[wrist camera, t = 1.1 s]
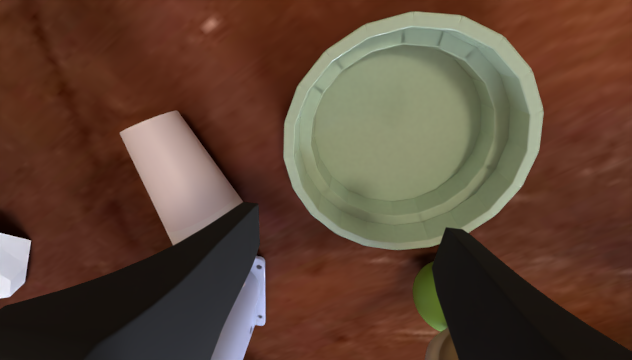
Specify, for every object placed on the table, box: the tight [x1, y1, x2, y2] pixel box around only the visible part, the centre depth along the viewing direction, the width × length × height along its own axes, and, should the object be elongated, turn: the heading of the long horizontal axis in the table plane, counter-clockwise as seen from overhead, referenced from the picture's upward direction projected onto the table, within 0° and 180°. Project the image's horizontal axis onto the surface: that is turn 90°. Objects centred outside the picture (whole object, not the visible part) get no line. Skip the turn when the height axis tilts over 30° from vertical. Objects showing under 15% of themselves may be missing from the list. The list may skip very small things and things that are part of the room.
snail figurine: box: [413, 261, 459, 360], centre depth 19 cm, size 5×6×12 cm
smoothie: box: [120, 111, 245, 287], centre depth 20 cm, size 6×6×14 cm
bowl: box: [283, 11, 544, 250], centre depth 17 cm, size 13×13×4 cm
